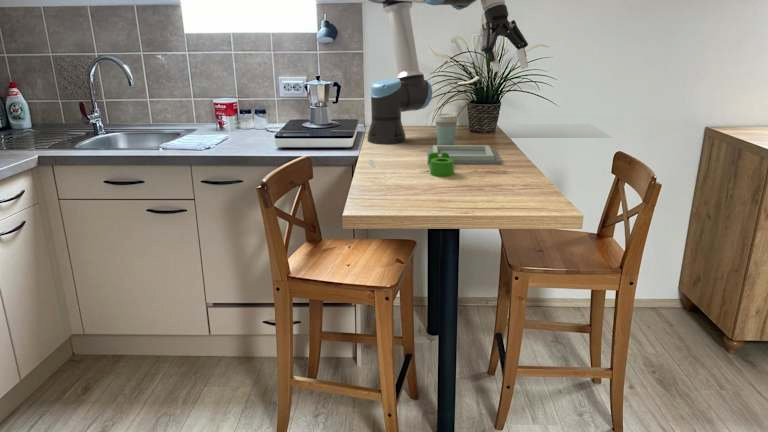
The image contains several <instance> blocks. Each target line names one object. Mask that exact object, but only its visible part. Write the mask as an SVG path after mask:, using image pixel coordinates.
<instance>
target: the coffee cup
mask: <svg viewBox="0 0 768 432" xmlns="http://www.w3.org/2000/svg"><path fill="white" fill-rule="evenodd" d="M458 121H459V120H458V117H457V114H454V113H439V114H436V115H435V117H434V122H435V131H436V141H437V145H455V138H456V131H457V125H458Z"/></svg>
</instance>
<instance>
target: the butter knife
mask: <svg viewBox="0 0 768 432" xmlns="http://www.w3.org/2000/svg"><path fill="white" fill-rule="evenodd" d="M367 162H368V164H369V166H371V165H372V166H373V167H372V166H371V167H372V169H373V168H375V167H376V165H375V166H374V163H375V161H374V160H373V159H370V158H369V159H367Z"/></svg>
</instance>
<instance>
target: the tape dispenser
mask: <svg viewBox="0 0 768 432" xmlns="http://www.w3.org/2000/svg"><path fill="white" fill-rule="evenodd" d="M427 165H428V169H429V172H430V173H429V174H430V175H431V176H433V177H438V178H439V177H440V178H442V177H443V178H445V177H452V176H453V175H454V165H455V164H454V160H453V159H450V158H449V155H448V153H447V152H442V155H441V158H438V152H431V153H429V163H428V162H427Z"/></svg>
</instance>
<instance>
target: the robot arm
mask: <svg viewBox="0 0 768 432" xmlns="http://www.w3.org/2000/svg"><path fill="white" fill-rule="evenodd" d="M368 1H369V2H370V3H375V4H382V8H383V11H384V12H385V13H386V14H387V16H388V20H389V21H388V22H389V27H390V32H391V38H392V45H393V46H392V47H393V50H394V57H395V63H396V69H397V76H396V77H395V78H389V79H381V80H378V81H374V82H373V83H372V85H371V87H370V88H371V89H370V99H371V100H370V103H371V104H370V105H371V109H370V110H371V122H370V125H369V129H368V132H367V142H369V143H372V144H381V145H382V144H383V145H387V144H388V145H389V144H399V143H403V142H405V141H406V133H405V129H404V127H403V126H404V125H403V123H402V113H403V112H410V111H418V110H424V109H425V108H426V107H428V106H429V104H430V102H431V101H432V98H433V88H432V85H431V83H430V82H429V81H428V80H426V79H425V76H424V73H423V72H422V71H420V67H419V62H418V61H419V60H418V56H417V55H418V54H417V49H416V42H415V37H414V31H413V24H412V18H411V8H412V7H413V3H420V4H426V5H428V6H429V5H431V6H451V7H452V8H453V9H455V10H457V11H461V10H463V9H466V8H468V7H469V6H471V5H472V4H474V3H475V2H476V1H477V0H368ZM480 3H481V6H482V11H483V12H484V19H485V21H486V22H484V23H483V24H482V25H481V26H482V38H481V48H480V50H481V52H483V53H484V54H485V55H487V57H488V61H489V63H490V65H491V68H492V72H493V73H494V74H495V73H497V72H499V71H501V65H500V62H499V59H498V54H497V51H496V50H494V48H495V46H496V43H497V41H498V37H499V36H500V37H504V38H507V39H508V41H509V42H510V43H511V44H512V45H513V46H514V48H516V54H517V59H518V63H519V66H520V70H524V69H526V68H529V64H528V60H527V53H526V49H525V48H526V47H527V46H528V45H529V43H528V42H527V40H526V38H525V36H524V35H523V34H522V32H521V31H520V29H519V27H518V25H517V22H516V20H514V19H512V20H511V21H509V20H508V17H509V11H508V6H507V5H506V1H505V0H480Z"/></svg>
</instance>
